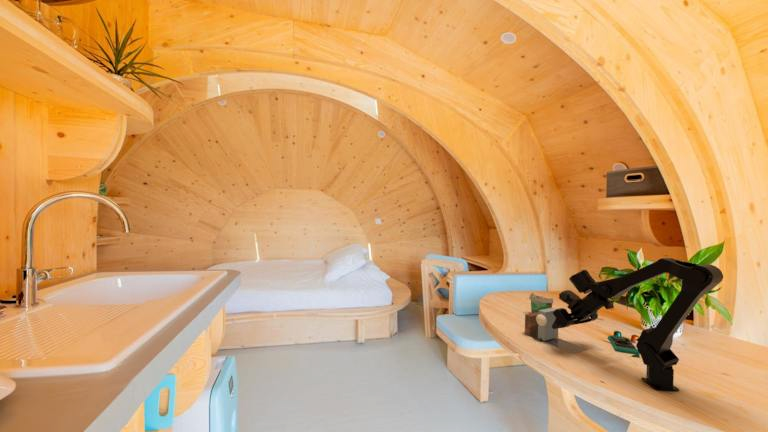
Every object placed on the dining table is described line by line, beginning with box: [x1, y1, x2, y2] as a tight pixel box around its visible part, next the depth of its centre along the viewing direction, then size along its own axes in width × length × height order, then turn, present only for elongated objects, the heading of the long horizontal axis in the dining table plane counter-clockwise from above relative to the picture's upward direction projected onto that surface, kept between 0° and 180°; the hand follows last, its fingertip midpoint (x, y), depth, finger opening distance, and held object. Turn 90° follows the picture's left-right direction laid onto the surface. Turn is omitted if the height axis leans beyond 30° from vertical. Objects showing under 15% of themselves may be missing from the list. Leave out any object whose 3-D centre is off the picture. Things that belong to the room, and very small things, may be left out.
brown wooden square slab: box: [524, 312, 538, 337], centre depth 140 cm, size 2×8×8 cm, turn 117°
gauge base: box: [521, 332, 589, 355], centre depth 132 cm, size 22×10×1 cm, turn 27°
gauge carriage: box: [536, 307, 559, 341], centre depth 134 cm, size 6×10×11 cm, turn 117°
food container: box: [528, 292, 555, 313], centre depth 165 cm, size 12×6×10 cm, turn 25°
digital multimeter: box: [607, 335, 641, 358], centre depth 128 cm, size 7×15×3 cm, turn 156°
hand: (560, 326), depth 129 cm, fingers open, 9 cm apart
